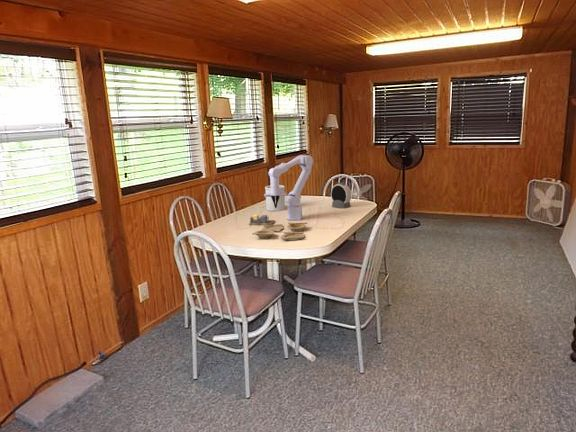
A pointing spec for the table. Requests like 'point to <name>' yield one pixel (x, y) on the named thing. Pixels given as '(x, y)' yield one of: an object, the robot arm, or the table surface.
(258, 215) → the block
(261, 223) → the board
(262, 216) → the block
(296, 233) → the tableware set
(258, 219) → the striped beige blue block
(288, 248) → the table surface
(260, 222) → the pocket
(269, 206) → the utensil holder
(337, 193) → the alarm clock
